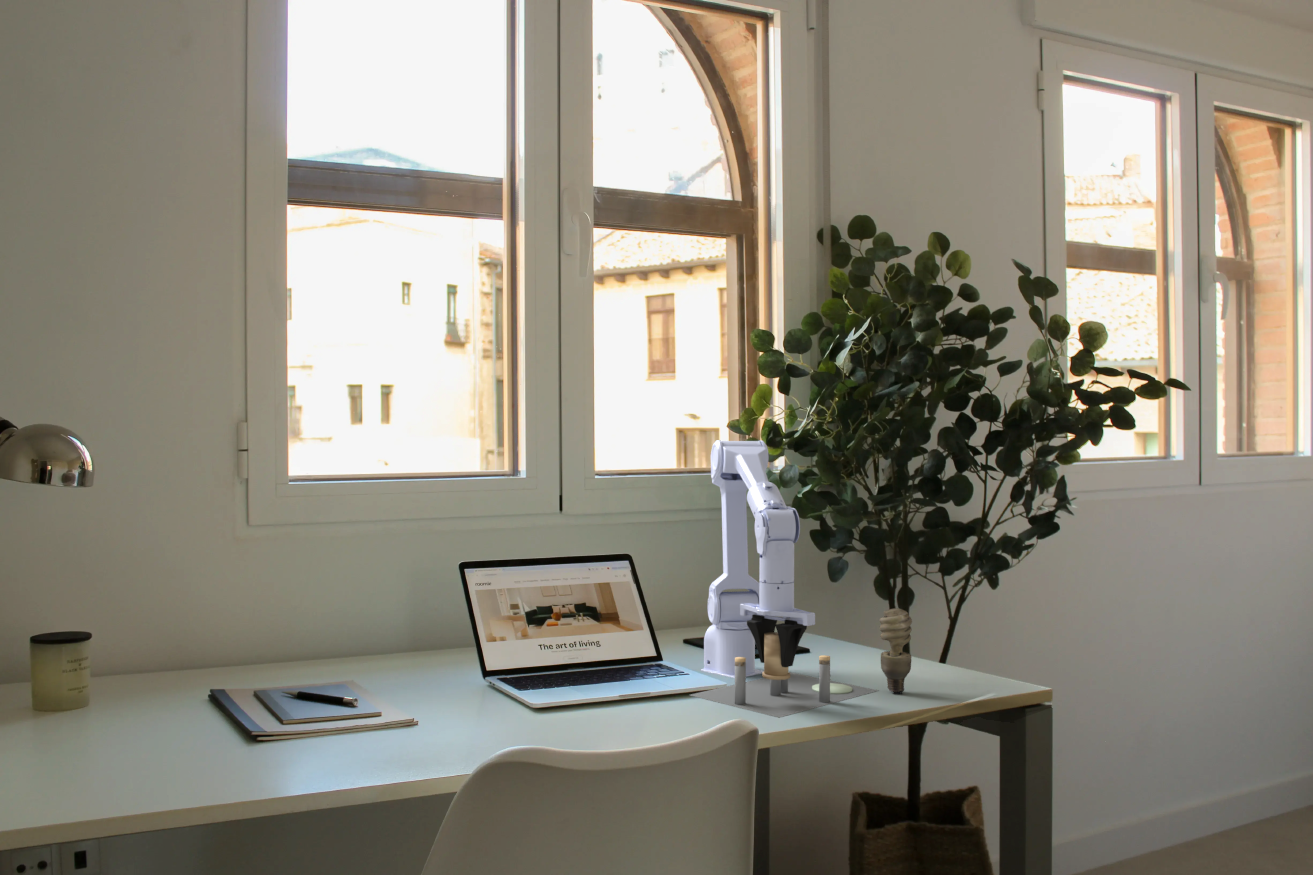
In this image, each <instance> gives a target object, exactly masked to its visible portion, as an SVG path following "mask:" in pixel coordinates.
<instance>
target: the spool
mask: <svg viewBox="0 0 1313 875" xmlns="http://www.w3.org/2000/svg"><path fill="white" fill-rule="evenodd" d="M763 666H764V667H763V671H764V672H762V673H761V674H762V675H761V676H762V678H765V679H771V680H785V679H789V678H790V673H789V672H790V671H789V667H790V666H789V667H782V665H781V651H780V641H779V636H778V632H777V631H774V632H769V633H765V634H764V663H763Z"/></svg>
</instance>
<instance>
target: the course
mask: <svg viewBox="0 0 1313 875" xmlns="http://www.w3.org/2000/svg"><path fill="white" fill-rule="evenodd" d="M818 662H819V663H818V675H819V676H818V677H816V676H812V675H811V676H810V675H806V674H801V673H796V672H792V671H789V673H790V678H789V679H785V680H771V679H765V678H763V677H762V678H758V679H754V680H750V681H749V680H748V681H747V680H746V679H747V678H746V658H744V657H736V658H735V678H734V684H732V685H731V684H730V685H727V686H722V687H717V688H713V689H710V690H709V689H708V690H704V691H699V692H696V693H692V694H689V696H690V697H695V698H698V699H701V700H706V701H710V702H714V703H717V704H722V705H726V706H731V707H735V708H738V709H742V710H747V711H751V712H755V713H759V714H763V715H767V716H770V717H774V718H779V719H780V718H783V717H787V716H791V715H794V714H798V713H801V712H805V711H809V710H813V709H817V708H820V707H821V708H822V707H823V706H825V707H826V706H827V705H831V704H836V703H839V702H842V701H847V700H849V699H850V700H851V699H853V698H858V697H860V696H865V695H869V694H872V693H876V692H879V691H880V690H878V689H874V688H869V687H865V686H860V685H859V686H858V685H854V684H850V683H845V682H839V681H836V680H835V681H834V680H831V656H830V655H819V656H818ZM830 683H835V684H843V685H847V686H850V687H852V692H850V693H846V694H830ZM816 684H819V692H816V691H813V690H812V686H813V685H816Z"/></svg>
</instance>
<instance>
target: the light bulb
mask: <svg viewBox="0 0 1313 875" xmlns="http://www.w3.org/2000/svg"><path fill="white" fill-rule="evenodd" d="M883 616H884V617H883ZM883 616H882V617H880V618H879V623H880V626H879V631H880V632H881V634H880V639H881V640H883V641H888V642H889V646H890V650H886V651H882V652H881V653H880V669H881V670H882V671H881V672H883V675H884V676H885V677H886V680H887V681H886V682H887V689H888V691H890V692H891V693H893V694H896V695H901V694H902V692H904V691H905V683H904V682H905V679H906V678H907V676H908V675H909V673H911V670H912V654H910V652H909V653H908V652H906V651H903V648H904V646H905V645H906V644H909V643H910V641H911V640H912V636H911V633H912V626H911V625H912V623H913V619H912V617H911V616H910V614H909V613H908V612H907V610H904V609H902V608H897V607H895V608H890V609H886V610H884V611H883Z"/></svg>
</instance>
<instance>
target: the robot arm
mask: <svg viewBox="0 0 1313 875" xmlns="http://www.w3.org/2000/svg"><path fill="white" fill-rule="evenodd" d="M768 466H769V448H768V446H767V443H766V442H765V441H764V440H745V441H744V440H720V439H717V440H715V441H714V443H713V444H712V446H711V452H710V477H711V483H712V484H713V485H714V486H717V487H719V490H720V496H721V528H722V529H721V531H722V532H721V533H722V539H721V540H722V571H723V573H722V574H721V575H719V576H718V577H717V578H716V579H715V580H713V581H712V582H711V584H710V585H709V587H708V598H707V616H708V619H709V622H710V623H711V625H709V627H708V628H707V630H706V631H705V634H704V637H703V668H701V669H700V671H701V672H705V673H709V674H713V675H717V676H721V677H722V676H723V677H726V678H727V677H728V678H732V679H735V658H736V657H744V658H746V677H747V678H748V677H751V676H755V675H760V674H762V672H764V670H762V669H757V668H755V667H756V665H755V664H756V662H755V661H756V660H755V658H756V656H755V655H756V653H755V652H756V649H755V648H757V652H758V657H759V661H760V663H761V664H764V634H765V633H769V632H778V636H779V641H780V651H781V665H782V667H793V666H794V661H795V656H796V655H797V654H796V653H797V651H798V650H797V649H798V647H799V644H800V641H801V639H802V637H803V636H804V633H805V632H806V630H807V629H808V627H809V626H810V627H811V626H815V625H816V613H815V612H811V611H806V610H803V609H799V608H796V607H795V544H797V542H798V541H799V537H800V535H801V534H800V533H801V523H800V522H801V521H800V516H799V512H798V511H797V509H796V508H794V507H791V506H787V505H786V503H785V499H784V498H783V496H782V494H781V491H780V489H779V488H778V485H776V484H775V483H774V482H770V481H769V479H768V478H769V477H768V475H767V469H768ZM747 503H748V506H749V508H750V511H751V512H752V515H753V517H754V520H755V521H754V535H755V540H756V551H757V552H756V553H757V554H759V569H758V570H759V578H758V579H759V581H758V580H756V579H755V578H754V577H753V576H751V575H750V574H749V554H748V553H749V550H748V548H749V547H748V544H749V543H748V513H747ZM745 589H746V591H743V590H745ZM726 590H742V591H726ZM778 621H780V622H782V623H778V624H777V622H778ZM755 645H756V646H755Z"/></svg>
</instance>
